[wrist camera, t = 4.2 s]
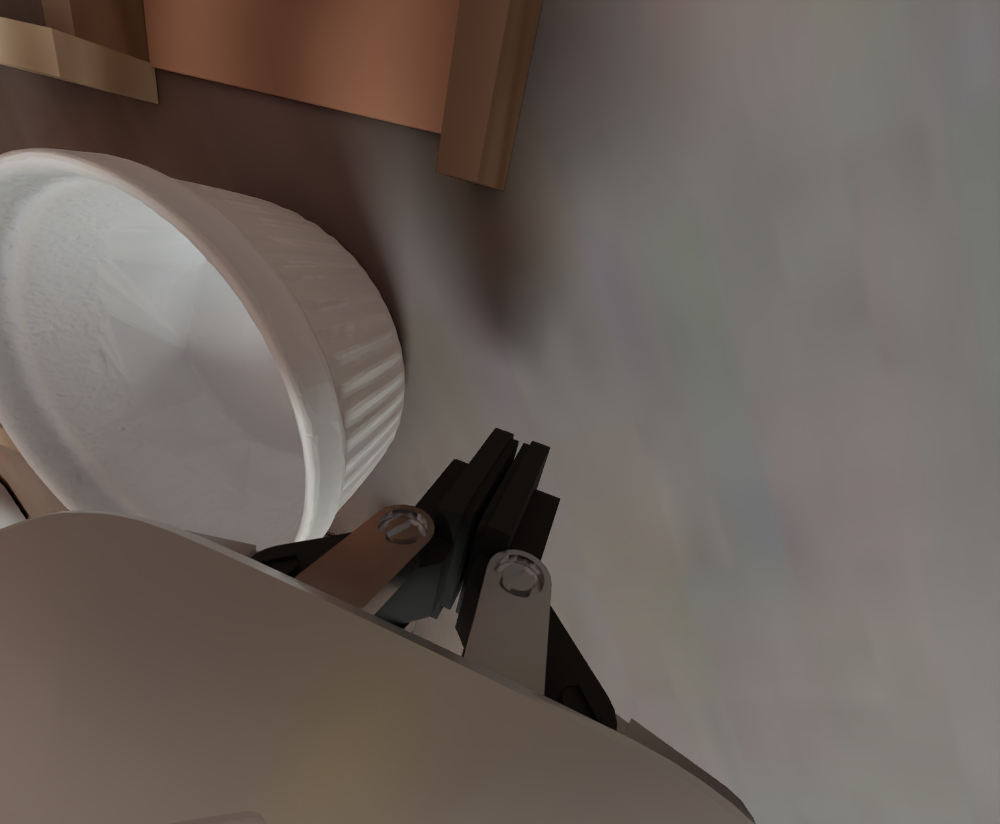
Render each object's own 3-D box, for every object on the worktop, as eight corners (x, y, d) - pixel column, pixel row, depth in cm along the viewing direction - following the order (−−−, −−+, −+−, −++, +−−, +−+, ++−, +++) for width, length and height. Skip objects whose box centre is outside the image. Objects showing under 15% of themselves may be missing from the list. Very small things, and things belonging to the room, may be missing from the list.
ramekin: (366, 537, 21) (251, 661, 15) (156, 385, 22) (-37, 444, 16) (495, 309, 15) (390, 360, 9) (197, 104, 15) (-99, 18, 9)
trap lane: (577, -166, 10) (532, -431, 6) (406, 660, 24) (358, 747, 20) (-221, -235, 15) (-522, -399, 11) (14, 470, 29) (-87, 507, 25)
